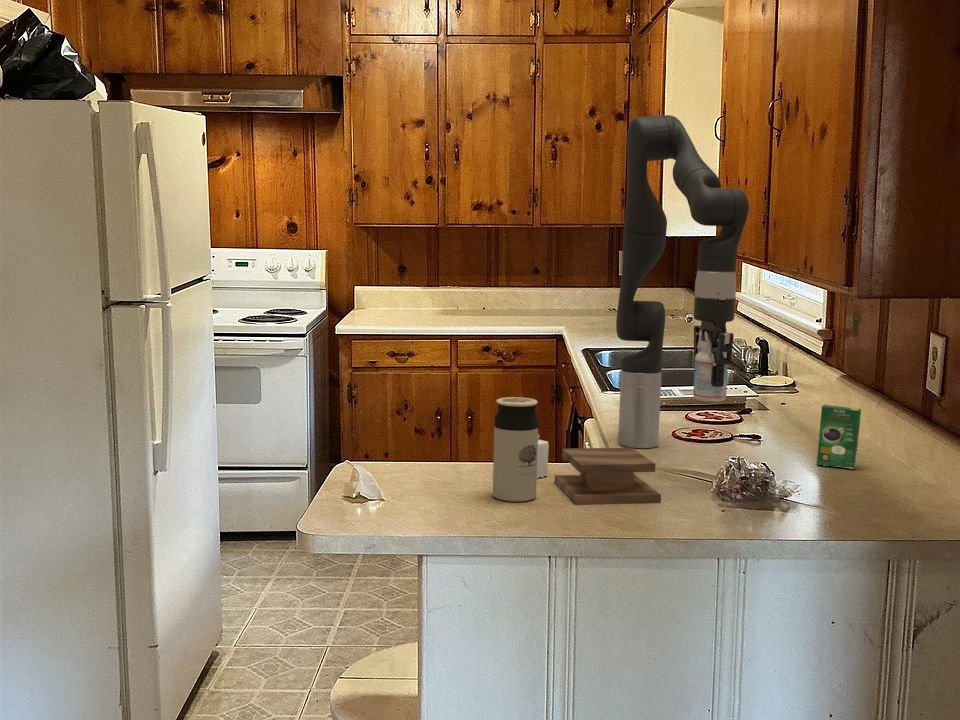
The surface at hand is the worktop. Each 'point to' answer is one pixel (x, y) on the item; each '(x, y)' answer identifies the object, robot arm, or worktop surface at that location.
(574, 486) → the walnut stand
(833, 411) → the coffee box
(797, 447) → the worktop surface
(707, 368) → the pill bottle
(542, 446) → the medicine bottle
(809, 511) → the worktop surface
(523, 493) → the travel mug
